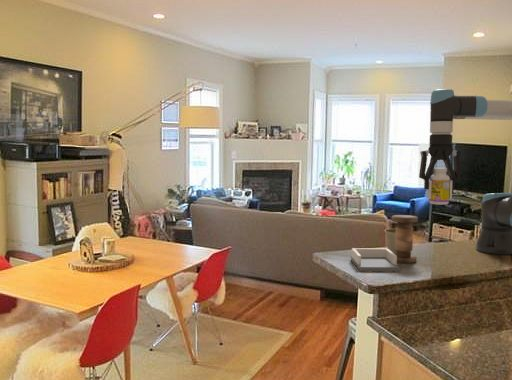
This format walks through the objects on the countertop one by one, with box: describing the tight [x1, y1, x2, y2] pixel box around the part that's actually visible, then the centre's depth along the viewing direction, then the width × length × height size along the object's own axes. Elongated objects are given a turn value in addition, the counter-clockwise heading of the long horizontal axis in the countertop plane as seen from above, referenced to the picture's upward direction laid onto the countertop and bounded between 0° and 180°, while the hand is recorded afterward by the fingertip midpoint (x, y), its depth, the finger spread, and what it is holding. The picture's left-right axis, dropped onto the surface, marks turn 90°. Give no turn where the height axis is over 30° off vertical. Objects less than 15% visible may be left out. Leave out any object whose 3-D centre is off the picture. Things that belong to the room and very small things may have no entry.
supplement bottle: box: [428, 167, 450, 206], centre depth 173 cm, size 7×7×13 cm
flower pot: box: [384, 228, 397, 254], centre depth 188 cm, size 9×9×9 cm
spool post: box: [391, 214, 419, 264], centre depth 175 cm, size 9×9×16 cm
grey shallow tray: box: [350, 247, 401, 273], centre depth 167 cm, size 13×16×4 cm
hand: (439, 198), depth 173 cm, fingers closed on supplement bottle, 7 cm apart
